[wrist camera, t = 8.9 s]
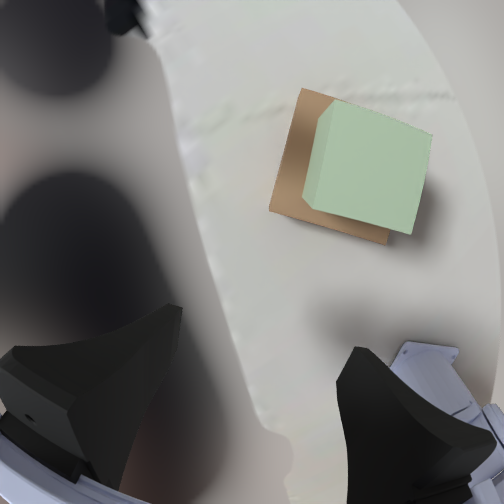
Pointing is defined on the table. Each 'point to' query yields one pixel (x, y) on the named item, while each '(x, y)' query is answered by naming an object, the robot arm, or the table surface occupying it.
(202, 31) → the table surface
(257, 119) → the table surface
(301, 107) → the walnut block
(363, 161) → the sage cube
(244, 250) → the table surface
